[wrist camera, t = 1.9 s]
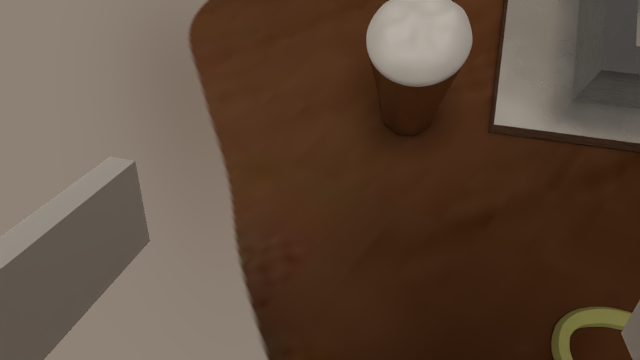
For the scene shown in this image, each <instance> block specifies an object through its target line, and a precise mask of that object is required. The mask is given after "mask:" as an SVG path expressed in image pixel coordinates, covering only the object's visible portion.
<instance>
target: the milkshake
mask: <svg viewBox="0 0 640 360" xmlns="http://www.w3.org/2000/svg"><path fill="white" fill-rule="evenodd" d="M366 43H367V50H368V55H369V59H370V63H371V67H372V71H373V75H374V78H375V82H376V87H377V93H378V99H379V104H380V109H381V113H382V117H383V121H384V124H385V125H386V126H387V127H388V128H390V129H391V130H392V131H393V132H395V133H396V134H397V135H412V136H415V135H416V134H418V133H420V132H422V131H423V130H425V129H427V128H429V127H430V125H431V123H432V121H433V119H434V117H435V115H436V112H437V110H438V108H439V106H440V104H441V102H442V100H443V98H444V96H445V94H446V93H447V91H448V89H449V88H450V86H451V84H452V83H453V81H454V79H455V77H456V76H457V74H458V72H459V71H460V69H461V67H462V65H463V64H464V62H465V60H466V59H467V57H468V55H469V53H470V50H471V46H472V31H471V27H470V23H469V20H468V17H467V15H466V13H465V11H464V10H463V9H462V8H461V7H460V6H459V5H457V4H456V3H454V2H452V1H451V0H390V1H388V2H386V3H385V4H384V5H383V6H381V7H380V9H379V10H378V11H377V12H376V14H375V15H374V17H373V18H372V20H371V22H370V24H369V27H368V30H367V36H366Z"/></svg>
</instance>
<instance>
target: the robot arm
mask: <svg viewBox="0 0 640 360" xmlns="http://www.w3.org/2000/svg"><path fill="white" fill-rule="evenodd" d="M149 241H150V240H149V235H148V229H147V224H146V218H145V213H144V207H143V201H142V196H141V191H140V185H139V180H138V174H137V169H136V163H135V161H133V160H127V159H121V158H115V157H109V158H107V159H106V160H105V161H103V162H102V163H101V164H99V165H98V166H96V167H95V168H94V169H92V170H91V171H90V172H88V173H87V174H85V175H84V176H83V177H82V178H80V179H79V180H77V181H76V182H75V183H73V184H72V185H70V186H69V187H68V188H66V189H65V190H64V191H62V192H61V193H60V194H58V195H57V196H55V197H54V198H53V199H51V200H50V201H48V202H47V203H46V204H44V205H43V206H42V207H41V208H39V209H38V210H36V211H35V212H33V213H32V214H31V215H29V216H28V217H27V218H25V219H24V220H23V221H21V222H20V223H18V224H17V225H16V226H14V227H13V228H12V229H10V230H9V231H7V232H6V233H5V234H3V235H2V236H1V237H0V360H44V359H45V357H46V356H47V355H48V354H49V353H50V352H51V351H52V350H53V349H54V347H55V346H56V345H57V344H58V343H59V342H60V341H61V340H62V339H63V337H64V336H65V335H66V334H67V333H68V332H69V331H70V330H71V328H72V327H73V326H74V325H75V324H76V323H77V322H78V321H79V320H80V318H81V317H82V316H83V315H84V314H85V313H86V312H87V311H88V309H89V308H90V307H91V306H92V305H93V304H94V303H95V302H96V301H97V299H98V298H99V297H100V296H101V295H102V294H103V293H104V292H105V290H106V289H107V288H108V287H109V286H110V285H111V284H112V283H113V281H114V280H115V279H116V278H117V277H118V276H119V275H120V274H121V273H122V271H123V270H124V269H125V268H126V267H127V266H128V265H129V264H130V262H131V261H132V260H133V259H134V258H135V257H136V256H137V255H138V254H139V252H140V251H141V250H142V249H143V248H144V247H145V246H146V245H147V243H148V242H149ZM621 334H622V336H623V339H624V341H625V343H626V346H627V348H628V350H629V353H630V355H631V357H632V360H640V300H639V302H638V304H637V306H636V307H635V309H634V311H633V313H632V315H631V316H630V318H629V320H628V322H627V324H626V325H625V327H624V329H623V331H622V332H621Z"/></svg>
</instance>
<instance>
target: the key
mask: <svg viewBox="0 0 640 360" xmlns="http://www.w3.org/2000/svg"><path fill="white" fill-rule="evenodd" d="M631 315H632V313H631V312H627V311H624V310H620V309H615V308H610V307H587V308H581V309H577V310H574V311H571V312H569V313H568V314H566V315H565V316H564V317H562V318H561V319H560V320H559V322H558V323H557V324H556V325H555V328H554V331H553V333H552V339H551V350H552V355H553V358H554V360H573V359H572V356H571V353H570V346H569V343H570V336H571V334H572V332H573V331H574V330H576V329H578V328H583V327H609V328H614V329H619V330H623V329H624V327H625V325H626V324H627V322H628V320H629V318H630V316H631Z"/></svg>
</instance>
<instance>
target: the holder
mask: <svg viewBox="0 0 640 360" xmlns="http://www.w3.org/2000/svg"><path fill="white" fill-rule="evenodd" d="M489 132H493V133H500V134H508V135H515V136H523V137H530V138H538V139H545V140H553V141H560V142H568V143H575V144H582V145H590V146H597V147H605V148H612V149H620V150H627V151H635V152H640V0H504V9H503V17H502V26H501V34H500V43H499V51H498V60H497V69H496V77H495V86H494V94H493V103H492V111H491V120H490V129H489Z"/></svg>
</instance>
